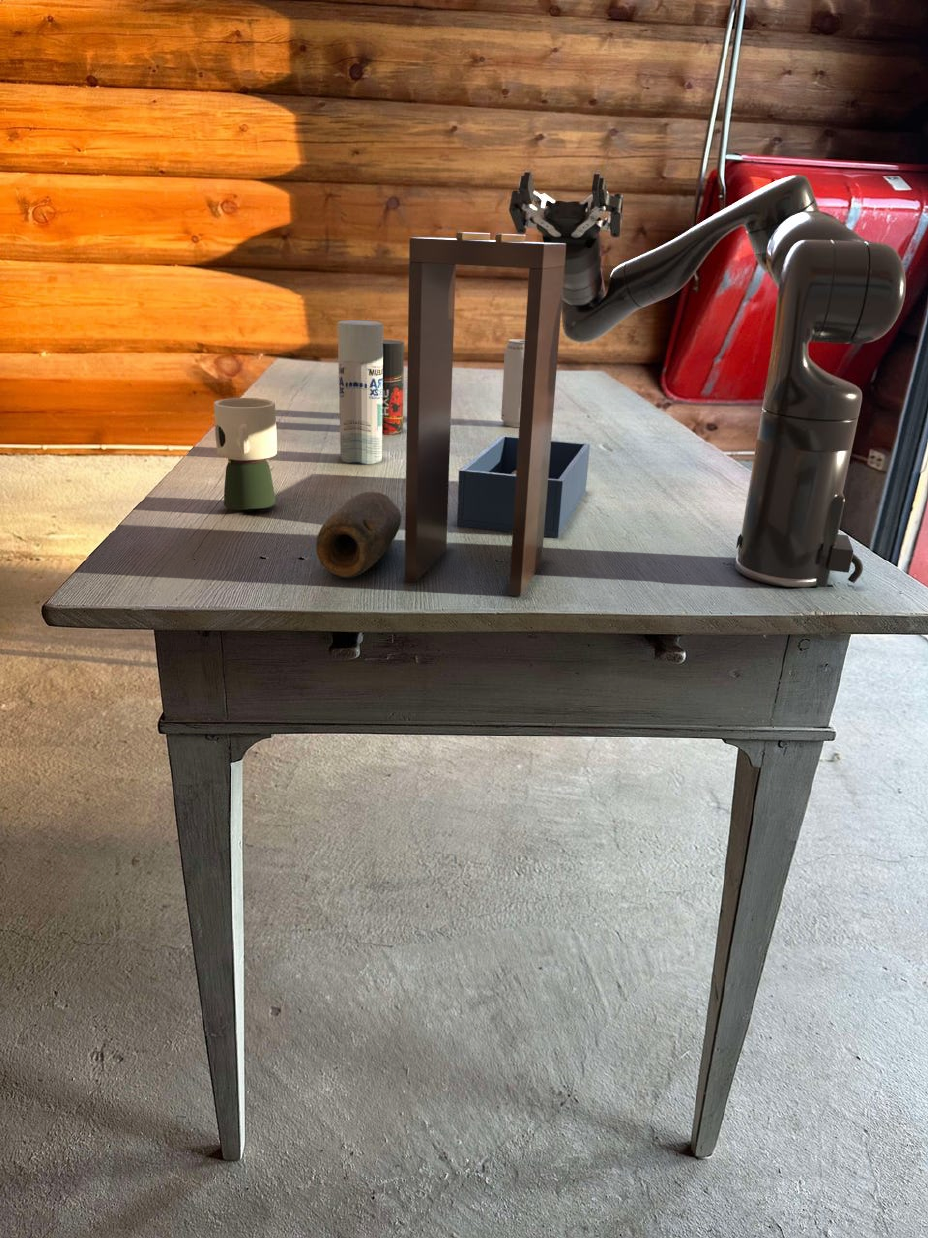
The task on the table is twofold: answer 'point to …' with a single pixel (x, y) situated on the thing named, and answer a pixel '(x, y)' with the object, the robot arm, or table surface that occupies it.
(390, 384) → the deodorant
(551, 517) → the bin
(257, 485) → the character mug
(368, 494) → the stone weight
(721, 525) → the table surface
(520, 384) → the energy drink can
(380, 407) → the spray paint can
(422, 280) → the stand
